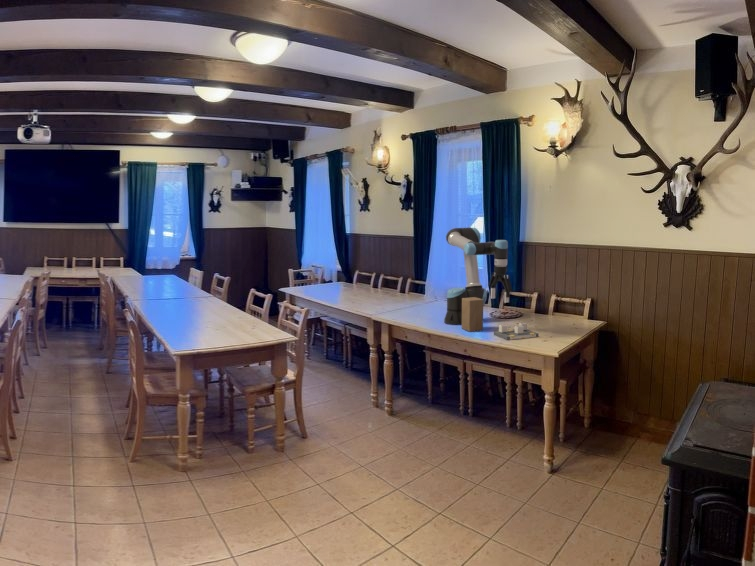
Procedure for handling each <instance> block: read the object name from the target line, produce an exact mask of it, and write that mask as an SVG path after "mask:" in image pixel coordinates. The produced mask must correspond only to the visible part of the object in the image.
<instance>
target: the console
mask: <svg viewBox="0 0 755 566" xmlns="http://www.w3.org/2000/svg"><path fill="white" fill-rule="evenodd" d="M493 336H495V337H497V338H501V339H503V340H505V341H513V340H519V339H520V340H521V339H530V338H538V337H539V333H538V332H535V331H533V330H530V329H527V330H523V333H520V334H517V333H515V328H514V329H507V332H503V333H501V332H499V330H498V331H493Z"/></svg>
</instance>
